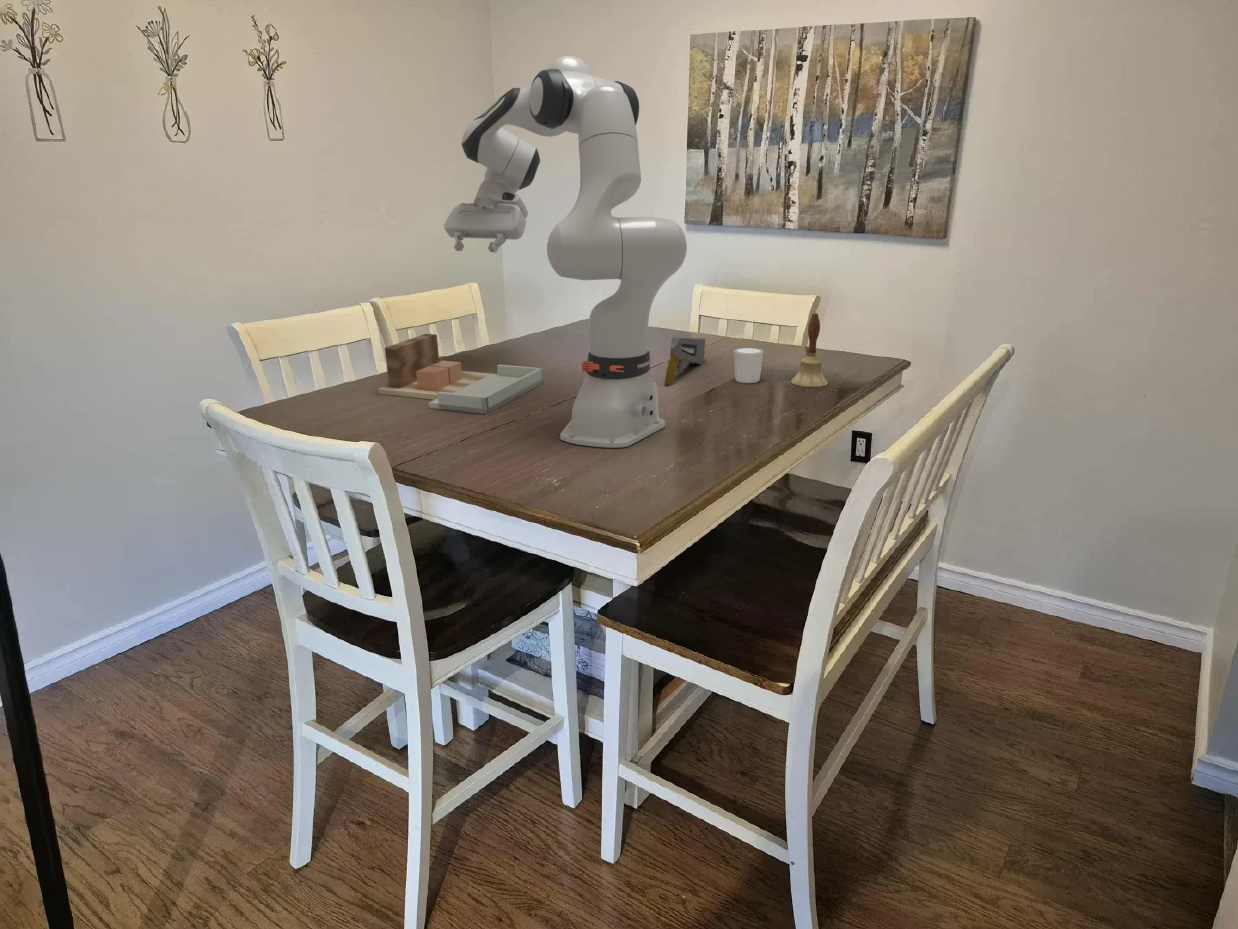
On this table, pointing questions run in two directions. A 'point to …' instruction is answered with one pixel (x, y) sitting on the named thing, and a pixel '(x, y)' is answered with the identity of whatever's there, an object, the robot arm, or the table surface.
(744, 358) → the white tapered cylinder
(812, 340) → the hand bell
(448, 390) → the board
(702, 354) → the gun
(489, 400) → the tray
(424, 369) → the terracotta block
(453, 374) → the terracotta square block
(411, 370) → the bar
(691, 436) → the table surface
